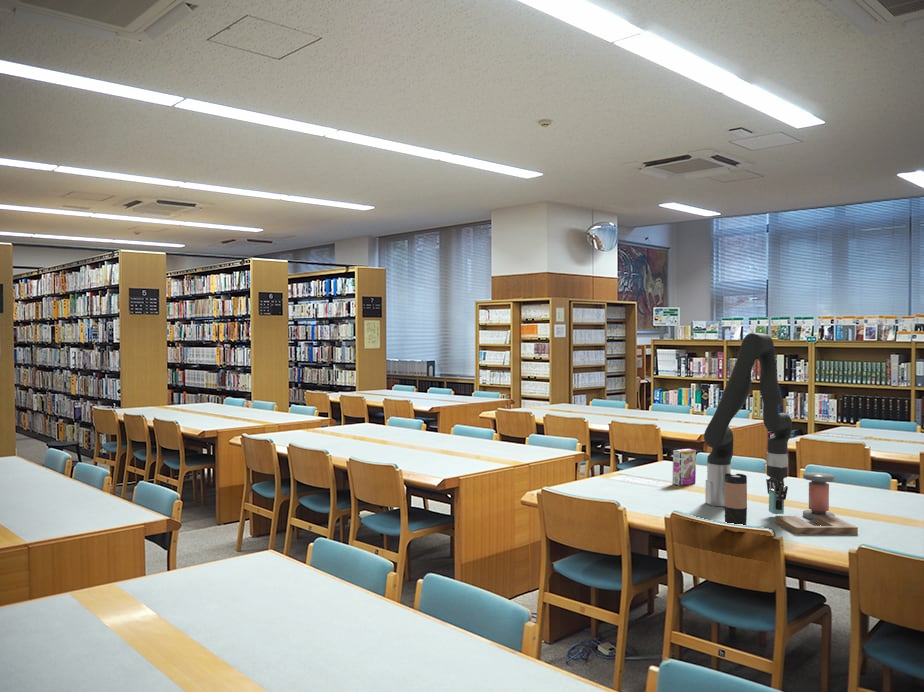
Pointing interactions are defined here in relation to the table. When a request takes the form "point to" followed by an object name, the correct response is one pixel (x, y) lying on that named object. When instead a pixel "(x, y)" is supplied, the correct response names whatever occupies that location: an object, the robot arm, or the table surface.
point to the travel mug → (735, 498)
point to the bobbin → (818, 494)
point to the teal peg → (774, 504)
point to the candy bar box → (684, 467)
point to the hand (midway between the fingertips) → (776, 507)
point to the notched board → (827, 526)
